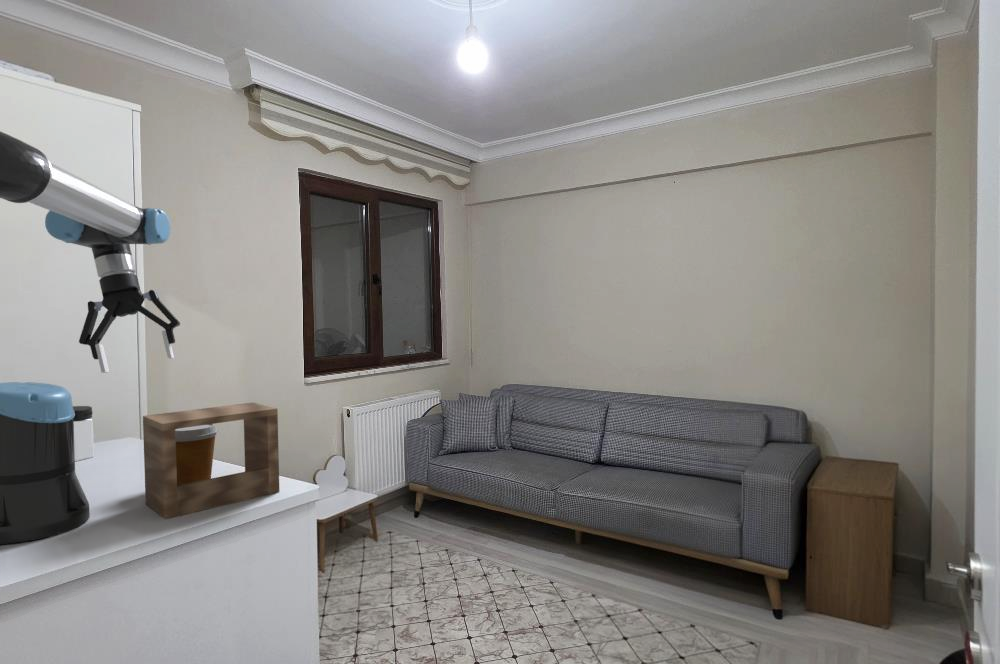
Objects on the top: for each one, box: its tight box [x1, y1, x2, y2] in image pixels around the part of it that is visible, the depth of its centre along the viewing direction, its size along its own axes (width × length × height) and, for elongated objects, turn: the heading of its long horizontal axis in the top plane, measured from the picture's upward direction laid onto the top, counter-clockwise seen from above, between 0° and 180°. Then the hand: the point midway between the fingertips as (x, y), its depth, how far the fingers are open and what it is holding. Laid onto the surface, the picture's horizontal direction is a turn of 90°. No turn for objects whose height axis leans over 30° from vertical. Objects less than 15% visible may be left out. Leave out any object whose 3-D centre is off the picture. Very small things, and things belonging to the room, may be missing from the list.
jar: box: [73, 405, 95, 463], centre depth 140 cm, size 9×8×12 cm
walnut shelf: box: [142, 402, 280, 520], centre depth 110 cm, size 20×11×16 cm, turn 136°
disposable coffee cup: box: [175, 423, 219, 485], centre depth 118 cm, size 10×10×12 cm
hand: (138, 365), depth 135 cm, fingers open, 13 cm apart
